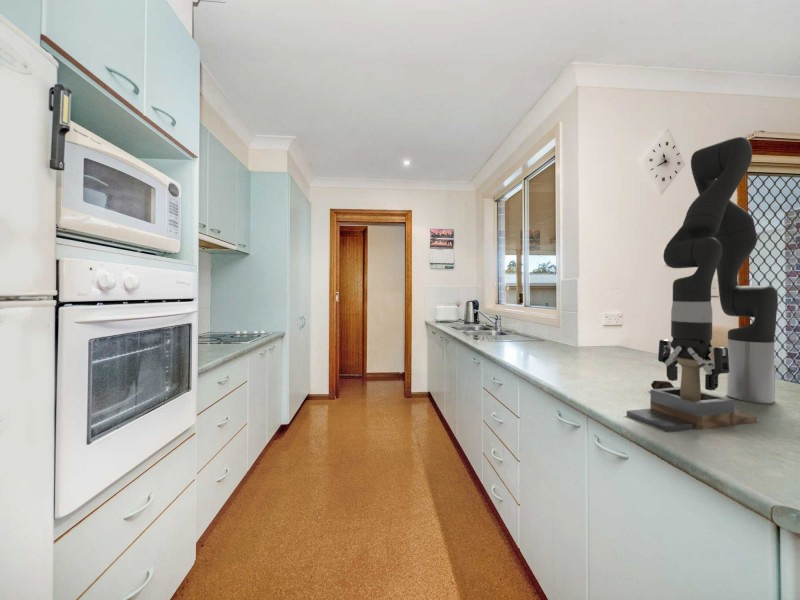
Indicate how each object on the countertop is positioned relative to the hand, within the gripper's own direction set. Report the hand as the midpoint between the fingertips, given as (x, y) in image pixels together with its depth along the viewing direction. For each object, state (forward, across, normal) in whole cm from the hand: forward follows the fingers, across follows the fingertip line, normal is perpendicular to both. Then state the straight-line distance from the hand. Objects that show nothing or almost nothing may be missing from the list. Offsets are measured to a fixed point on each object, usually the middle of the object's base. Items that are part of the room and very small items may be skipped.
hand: (690, 384), depth 79 cm
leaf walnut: (+8, 0, -4) cm, 9 cm away
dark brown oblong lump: (+9, +13, -11) cm, 20 cm away
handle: (+9, 0, 0) cm, 9 cm away
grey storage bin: (+8, 0, +4) cm, 9 cm away
